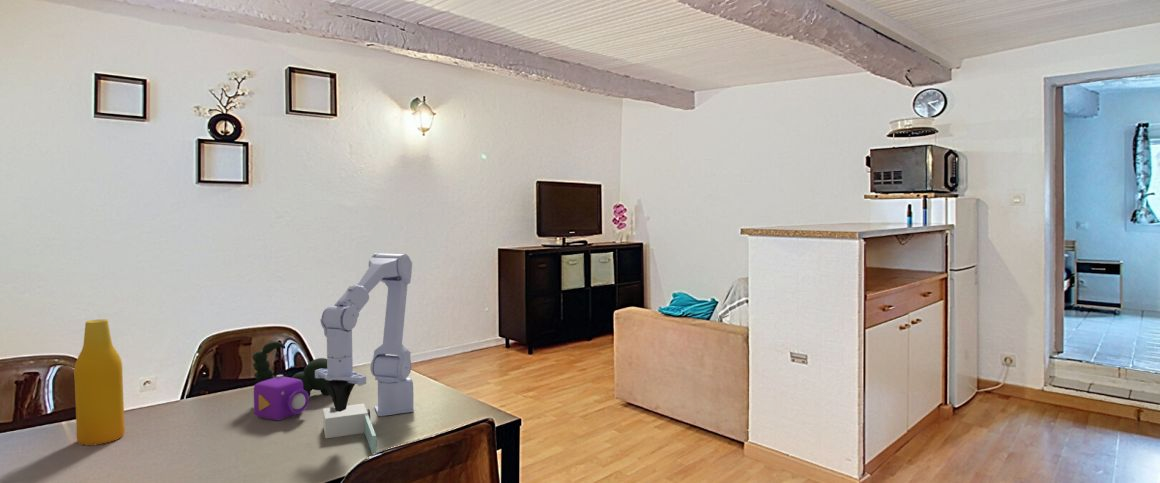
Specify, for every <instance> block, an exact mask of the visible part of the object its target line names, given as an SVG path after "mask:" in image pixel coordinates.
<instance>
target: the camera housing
mask: <svg viewBox="0 0 1160 483" xmlns="http://www.w3.org/2000/svg"><path fill="white" fill-rule="evenodd" d="M322 413H323V414H322V417H323V418H322V419H323V420H322V421H323V422H322V423H323V425H322V426H323V431H324V437H325V439H330V438H331V439H332V438H339V437H344V436H351V435H353V436H354V435H359V434H365V426H364V414H368V416H369V419H370V420H371V410H370V409H369V408H366V404H365V403H363V402H362V403H357V404H349V405H348V404H347V407H346V410H343V411H341V412H338V411H336V410H335V406H334V405H333V406H330V407H325V408H323V409H322Z"/></svg>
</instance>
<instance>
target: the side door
mask: <svg viewBox="0 0 1160 483" xmlns="http://www.w3.org/2000/svg"><path fill="white" fill-rule="evenodd" d="M364 426H365V433H364V435H365V437H366V441H367V444H368V446H369V449H370V452H371V455H372V454H374V453H376V454H377V448H378V447H377V446H378V445H377V444H378V441H377V440H378V439H377V434H376V431H375V430H374V427H373V425H372V422H371V418H370V419H369V416H368V414H364Z"/></svg>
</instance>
